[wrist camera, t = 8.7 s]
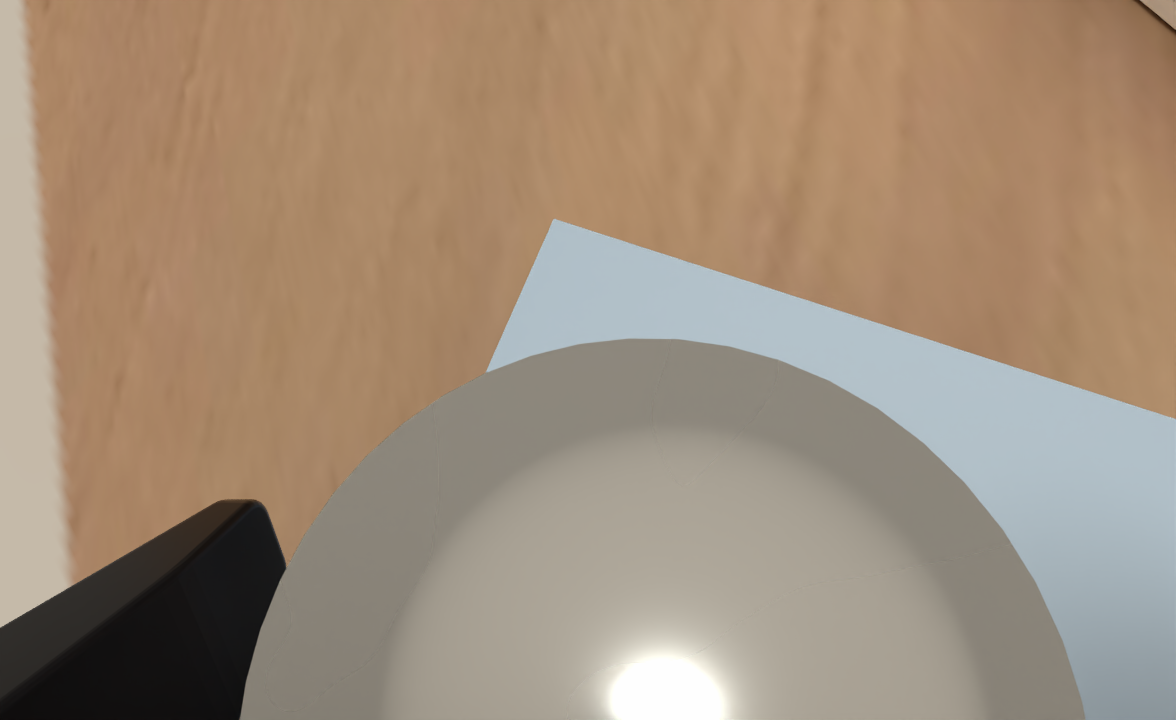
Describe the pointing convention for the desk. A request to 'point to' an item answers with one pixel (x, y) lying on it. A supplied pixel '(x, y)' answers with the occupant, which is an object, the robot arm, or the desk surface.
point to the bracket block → (931, 439)
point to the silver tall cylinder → (656, 560)
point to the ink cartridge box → (1163, 10)
